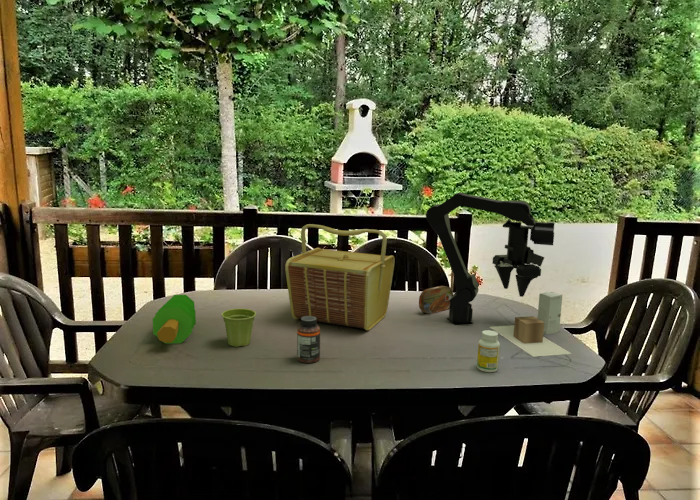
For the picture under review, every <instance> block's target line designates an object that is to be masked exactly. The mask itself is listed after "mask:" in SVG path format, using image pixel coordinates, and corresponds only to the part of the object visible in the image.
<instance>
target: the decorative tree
mask: <svg viewBox="0 0 700 500" xmlns="http://www.w3.org/2000/svg"><path fill="white" fill-rule="evenodd" d="M195 308H196V307H195V301H194V300H193V299H191V298H190V297H189V296H188V295H187V294H174V295H173V296H172V297H170V299H169V300H167V301H166V302H165V303H164V304H163V305H162V306H161V307H160V308H159V309H158V311H157V312H156V313H155V315H154V316H153V318H152V334H153V335H154V336H155V337H156V338H158V340H159V341H160V342H162V343H164V344H165V345H166V344H170V345H171V344H182V343H183V342H184V341H185V340H186V339H187V338H189V336H190V335H192V333H193V329H194V327H195V325H196V324H197V318H196V309H195Z"/></svg>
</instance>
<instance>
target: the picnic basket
mask: <svg viewBox="0 0 700 500" xmlns="http://www.w3.org/2000/svg"><path fill="white" fill-rule="evenodd" d="M308 228H315V229H321V230H323V231H325V232H327V233H330V234H333V235H337V236H342V237H343V236H345V237H346V236H347V237H348V236H359V235H362V234H365V233H370V234H371V233H372V234H379V235H380V236H381V237H382V242H381V250H380V251H381V252H380V254H374V253H366V252H365V253H363V252H355V251H345V250H344V251H343V250H336V249H335V250H334V249H327V248H320V247H316V248H312V249H311V250H308V251H307V244H306V230H307V229H308ZM300 238H301V239H300V240H301V253H300V254H297V255H295V256H291V257H289V258H288V259H287V260H286V262H285V266H284V268H285V276H286V283H287V284H286V285H287V292H288V299H289V300H288V301H289V305H290V306H289V307H290V313H291V316H292V318H293V319H295V320H299V319H300V320H301V318H302V317H304V316H313V317H316V322H319V323H325V324H332V325H338V326H339V325H340V326H344V327H351V328H358V329H363V330H365V331H371V329H372V328H374V327H375V326H376V325H377V324H378V323H379V322H381V321H382V320H383V319H384V318H385V316H386V315H387V311H388V309H389V301H390V295H391V287H392V283H393V276H394V270H395V259H396V258H395V256H394V255H392V254H391V255H386V251H387V242H388V239H387V235H386V233H385V232H383V231H382V230H378V229H369V228H363V229H353V230H341V229H335V228H332V227H329V226H325V225H323V224H322V225H321V224H314V223H312V224H311V223H309V224H305V225H304V226H302V227H301V231H300Z"/></svg>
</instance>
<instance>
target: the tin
mask: <svg viewBox="0 0 700 500" xmlns="http://www.w3.org/2000/svg"><path fill="white" fill-rule="evenodd" d="M453 295H454V293H453V290H452V288H451V287H449V286H445V285H439V286H434V287H430V288H426V289H424V290H422V291H421V293H420V295H419V298H418V307H419V309H420V311H422V312H423V313H426V314H428V315H432V314H436V313H440V312H443V311H444V312H445V311H447V310H449V308H450V299H451V298H452V296H453Z"/></svg>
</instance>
